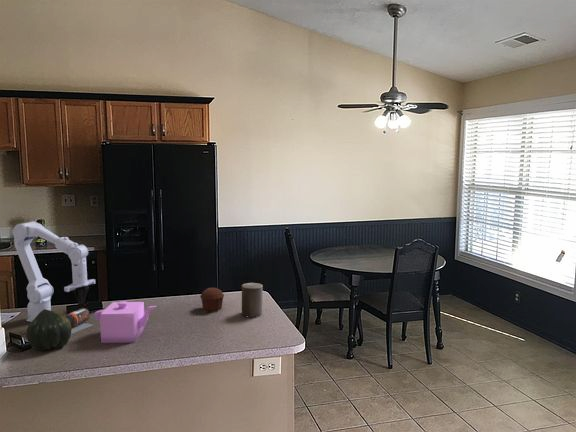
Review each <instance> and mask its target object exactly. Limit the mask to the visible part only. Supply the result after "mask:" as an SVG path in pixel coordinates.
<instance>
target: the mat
mask: <svg viewBox="0 0 576 432" xmlns="http://www.w3.org/2000/svg"><path fill="white" fill-rule="evenodd" d="M91 327H94V324H91V323H88V322H83V323H81V324H79V325H77V326H75V327H71V335H73V334H77V333H79V332H81V331H84V330H86V329H89V328H91Z"/></svg>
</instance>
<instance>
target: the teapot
mask: <svg viewBox="0 0 576 432" xmlns="http://www.w3.org/2000/svg"><path fill="white" fill-rule="evenodd" d="M156 307H157V305H150V306H148V307H146V309H145V303H144V301H125V300H123V301H121V300H120V301H115V302H114V301H113V302H111V303H110V304H109V305H108V306H107V307H105V309H100V310H97V311H95V312H94V314H93V316H94V318H95V319H96V321H97V322H98V323H99V327H100V341H101V342H100V343H101V344H117V343H118V344H121V343H124V344H125V343H136V341H137V340H138V339H139V337H140V336H141V334H142V333H143V331H144V330H145V329H146V327H145V326H146V324H147V322H148V319H149V316H150V313H151V311H152V310H154V309H155V308H156Z"/></svg>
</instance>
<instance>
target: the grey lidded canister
mask: <svg viewBox="0 0 576 432" xmlns="http://www.w3.org/2000/svg"><path fill="white" fill-rule="evenodd" d="M263 287H264V286H263V284H261V283H258V282H257V283H256V282H248V283H243V284H241V316H243V315H244V316H243V317H245V316H248V317H247V318H257V317H256V316H259V317H261V316H262V315H263V291H264V289H263ZM261 314H262V315H261ZM260 315H261V316H260Z"/></svg>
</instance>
